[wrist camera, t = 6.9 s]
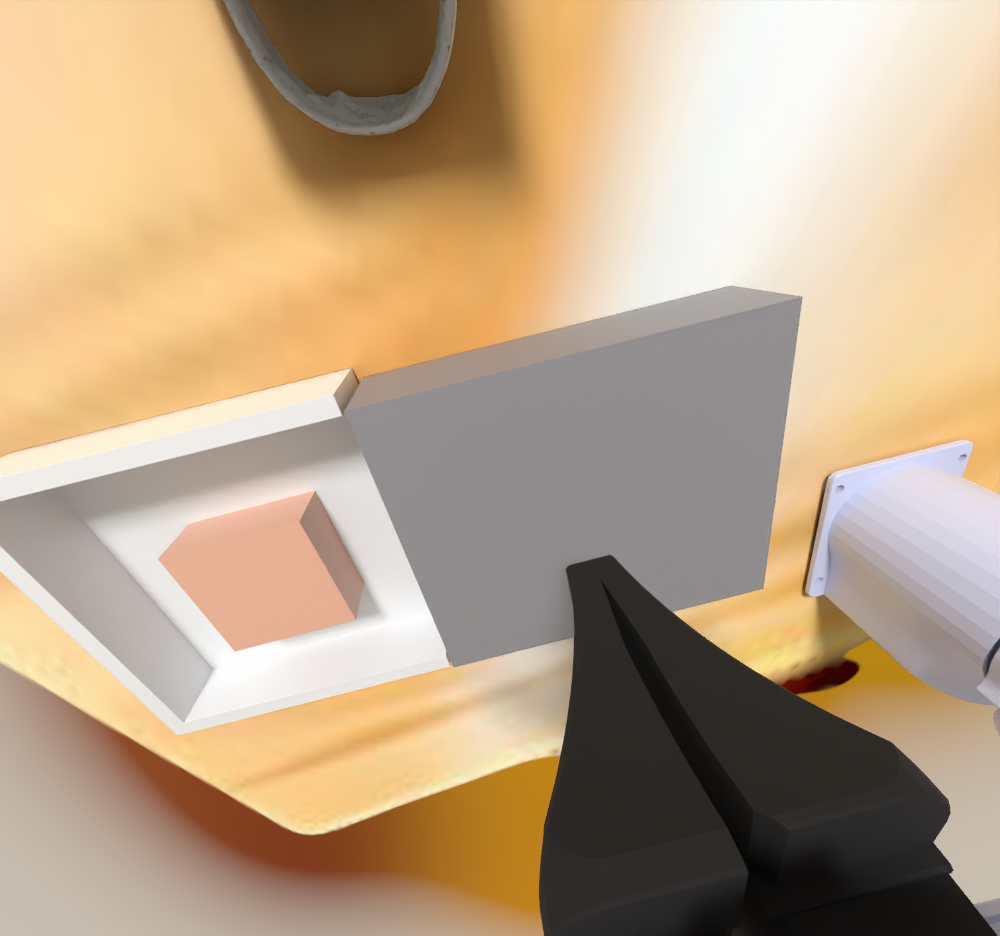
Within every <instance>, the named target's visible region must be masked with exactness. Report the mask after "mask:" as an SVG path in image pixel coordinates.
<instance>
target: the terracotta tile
mask: <svg viewBox="0 0 1000 936" xmlns="http://www.w3.org/2000/svg"><path fill="white" fill-rule="evenodd" d="M158 560H159V561H160V562H161V564H162V565H163V566H164V567H165V568H166V570H167V571H168V572H169V573H170V574H171V576H172V577H173V578H174V579H175V580H176V582H177V583H178V584H179V585H180V586H181V588H182V589H183V590H184V591H185V592H186V594H187V595H188V596H189V597H190V598H191V600H192V601H193V602H194V603H195V604H196V606H197V607H198V608H199V609H200V610H201V612H202V613H203V614H204V615H205V616H206V618H207V619H208V620H209V621H210V622H211V624H212V625H213V626H214V627H215V628H216V630H217V631H218V632H219V633H220V634H221V636H222V637H223V638H224V639H225V640H226V642H227V643H228V644H229V645H230V646H231V648H232V649H233V650H234V651H235V652H236V651H239V650H243V649H247V648H251V647H255V646H259V645H262V644H266V643H270V642H274V641H278V640H281V639H285V638H289V637H293V636H297V635H300V634H304V633H308V632H312V631H316V630H319V629H323V628H327V627H331V626H335V625H338V624H342V623H346V622H350V621H354V620H356V618H357V614H358V609H359V605H360V600H361V596H362V591H363V587H364V581H363V579H362V578H361V576H360V574H359V572H358V570H357V568H356V566H355V564H354V563H353V561H352V559H351V557H350V555H349V553H348V551H347V549H346V547H345V546H344V544H343V542H342V540H341V538H340V536H339V534H338V532H337V531H336V529H335V527H334V525H333V523H332V521H331V519H330V517H329V515H328V514H327V512H326V510H325V508H324V506H323V504H322V502H321V500H320V499H319V497H318V495H317V493H316V491H311V492H307V493H303V494H299V495H296V496H292V497H288V498H284V499H280V500H276V501H273V502H269V503H265V504H261V505H257V506H254V507H250V508H246V509H242V510H238V511H235V512H231V513H227V514H223V515H219V516H216V517H212V518H208V519H204V520H200V521H196V522H193V523H189V524H188V525H187V527H186V528H185V529H184V530H183V531H182V532H181V533H180V535H179V536H178V537H177V538H176V539H175V540H174V541H173V542H172V544H171V545H170V546H169V547H168V548H167V549H166V550H165V551H164V553H163V554H162V555H161V556H160V557H159V558H158Z"/></svg>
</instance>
